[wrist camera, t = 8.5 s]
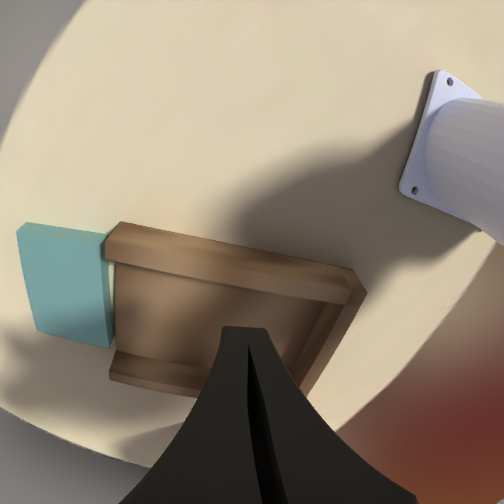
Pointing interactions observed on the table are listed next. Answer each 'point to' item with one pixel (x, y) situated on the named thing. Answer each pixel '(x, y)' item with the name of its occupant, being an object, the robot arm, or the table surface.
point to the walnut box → (219, 307)
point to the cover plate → (67, 282)
